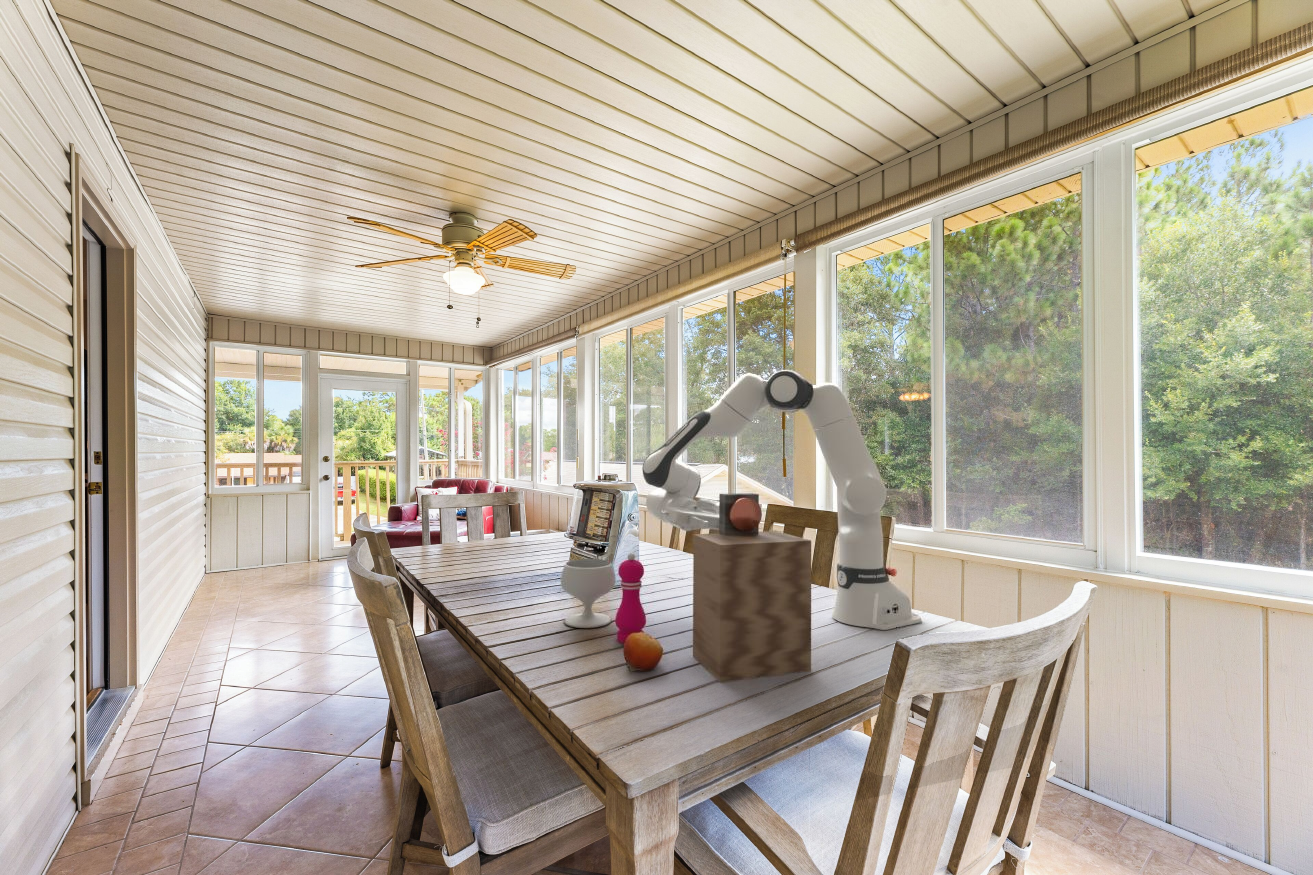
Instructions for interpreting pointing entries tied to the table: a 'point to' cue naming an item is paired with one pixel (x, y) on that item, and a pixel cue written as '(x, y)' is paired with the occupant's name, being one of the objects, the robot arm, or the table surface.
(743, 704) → the table surface
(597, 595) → the chalice
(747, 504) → the steel pin
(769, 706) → the table surface
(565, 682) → the table surface
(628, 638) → the fruit
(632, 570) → the pepper mill
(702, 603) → the walnut post
